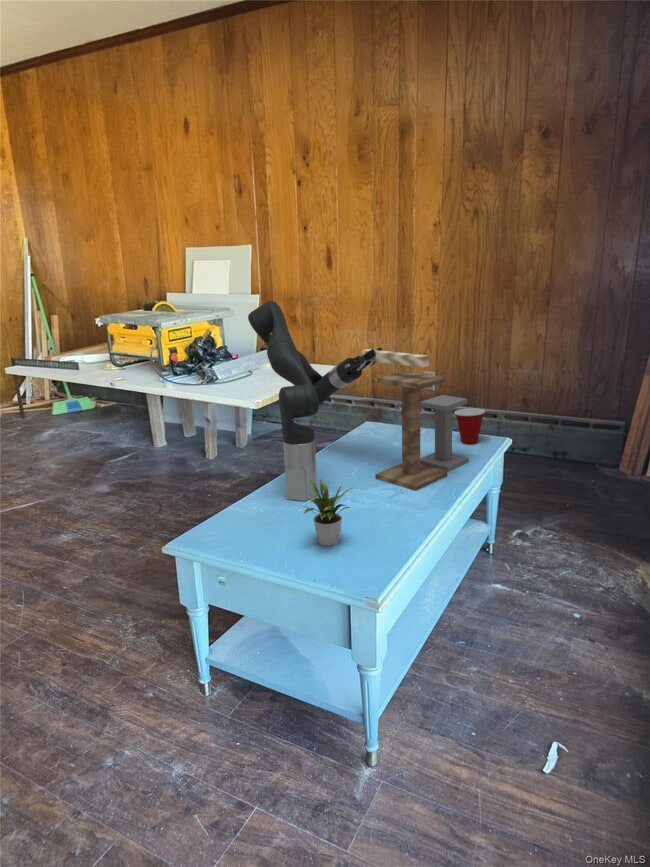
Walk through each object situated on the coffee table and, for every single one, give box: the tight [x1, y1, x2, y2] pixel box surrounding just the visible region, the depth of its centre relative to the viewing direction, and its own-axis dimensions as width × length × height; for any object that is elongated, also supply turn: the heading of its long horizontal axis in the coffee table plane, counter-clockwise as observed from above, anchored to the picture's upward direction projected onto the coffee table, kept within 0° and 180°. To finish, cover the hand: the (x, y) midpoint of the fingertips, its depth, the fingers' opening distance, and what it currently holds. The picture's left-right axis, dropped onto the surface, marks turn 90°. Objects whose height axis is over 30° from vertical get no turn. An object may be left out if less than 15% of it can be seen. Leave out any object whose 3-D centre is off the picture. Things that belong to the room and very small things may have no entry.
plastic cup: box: [454, 408, 486, 445], centre depth 218 cm, size 11×11×12 cm
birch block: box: [361, 348, 430, 368], centre depth 182 cm, size 24×3×3 cm, turn 44°
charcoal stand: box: [420, 394, 470, 472], centre depth 196 cm, size 12×12×22 cm
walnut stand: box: [375, 370, 449, 492], centre depth 184 cm, size 16×16×32 cm
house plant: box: [303, 478, 354, 547], centre depth 147 cm, size 14×14×16 cm
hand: (377, 351), depth 186 cm, fingers closed on birch block, 3 cm apart
